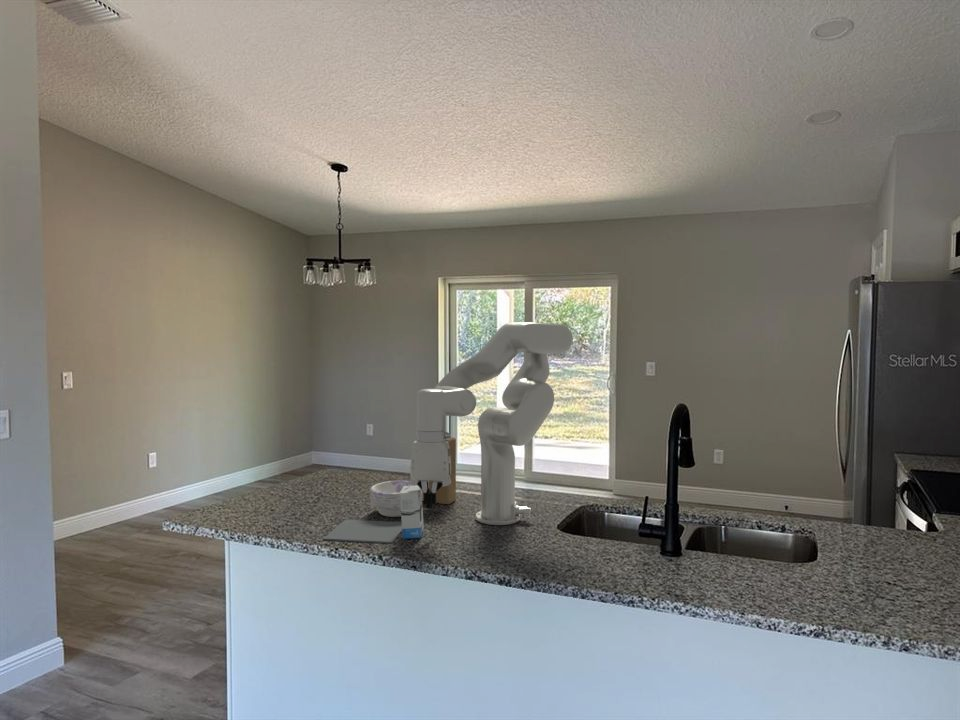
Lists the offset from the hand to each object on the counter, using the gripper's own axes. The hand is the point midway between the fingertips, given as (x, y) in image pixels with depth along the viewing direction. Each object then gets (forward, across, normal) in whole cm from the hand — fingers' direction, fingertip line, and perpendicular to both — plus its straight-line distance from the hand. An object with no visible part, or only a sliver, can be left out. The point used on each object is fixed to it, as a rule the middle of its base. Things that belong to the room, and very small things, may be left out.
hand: (430, 506), depth 159 cm
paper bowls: (+8, +14, -19) cm, 24 cm away
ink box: (+8, +4, 0) cm, 9 cm away
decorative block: (+7, +4, -32) cm, 34 cm away
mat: (+8, +17, -1) cm, 19 cm away
